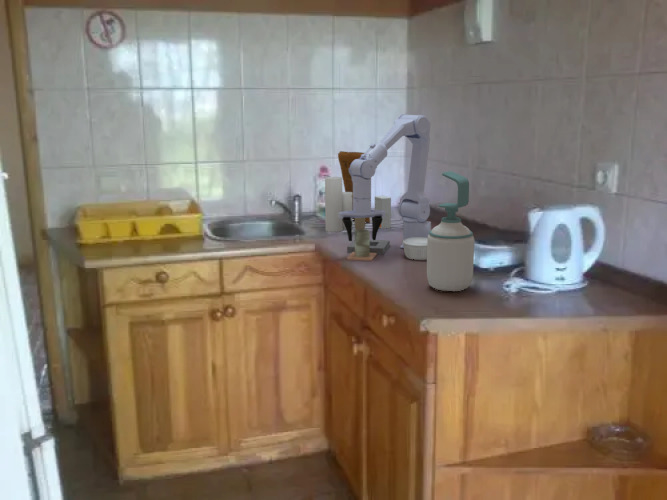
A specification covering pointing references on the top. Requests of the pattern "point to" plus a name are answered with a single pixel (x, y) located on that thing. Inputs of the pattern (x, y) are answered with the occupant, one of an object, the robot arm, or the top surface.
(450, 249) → the soap bottle
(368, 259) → the coaster
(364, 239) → the sage block
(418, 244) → the ramekin
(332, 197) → the pair of white cylinders
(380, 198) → the skincare box
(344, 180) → the pancake mix bag
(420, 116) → the robot arm
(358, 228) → the handle
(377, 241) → the pocket board
